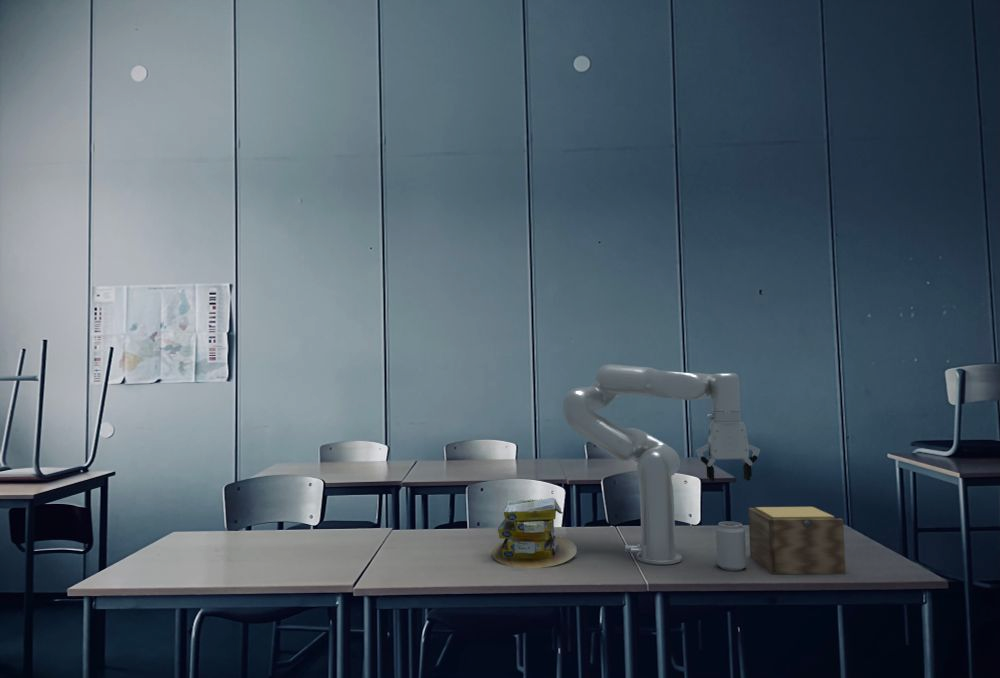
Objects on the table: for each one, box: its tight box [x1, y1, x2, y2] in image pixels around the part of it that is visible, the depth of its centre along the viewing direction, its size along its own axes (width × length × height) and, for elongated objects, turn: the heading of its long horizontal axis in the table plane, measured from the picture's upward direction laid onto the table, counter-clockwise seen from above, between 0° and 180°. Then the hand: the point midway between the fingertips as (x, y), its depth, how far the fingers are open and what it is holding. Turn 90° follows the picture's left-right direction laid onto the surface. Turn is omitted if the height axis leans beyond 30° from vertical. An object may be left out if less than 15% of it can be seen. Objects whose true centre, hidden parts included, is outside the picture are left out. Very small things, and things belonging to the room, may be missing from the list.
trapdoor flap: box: [755, 506, 836, 519], centre depth 187 cm, size 16×14×1 cm
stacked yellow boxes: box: [491, 497, 578, 569], centre depth 200 cm, size 25×25×17 cm
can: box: [715, 521, 747, 572], centre depth 185 cm, size 8×8×12 cm
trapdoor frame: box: [748, 506, 847, 575], centre depth 186 cm, size 19×19×14 cm
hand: (729, 480), depth 186 cm, fingers open, 9 cm apart
